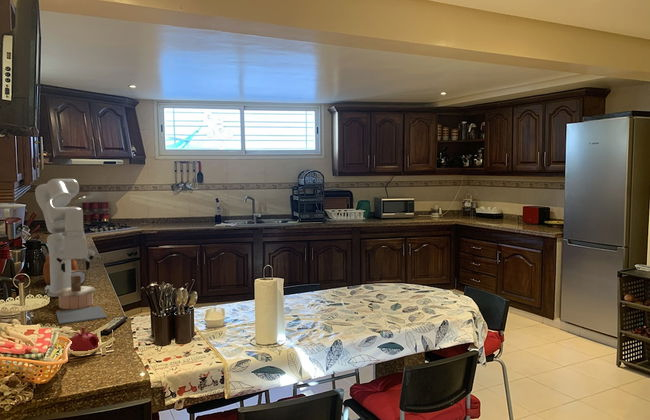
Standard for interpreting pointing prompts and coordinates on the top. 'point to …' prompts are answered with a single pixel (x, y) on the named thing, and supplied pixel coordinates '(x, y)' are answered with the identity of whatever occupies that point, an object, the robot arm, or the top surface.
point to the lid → (75, 288)
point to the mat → (80, 315)
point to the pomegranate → (84, 341)
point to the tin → (82, 275)
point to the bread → (47, 268)
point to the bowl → (75, 301)
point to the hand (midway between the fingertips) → (75, 270)
